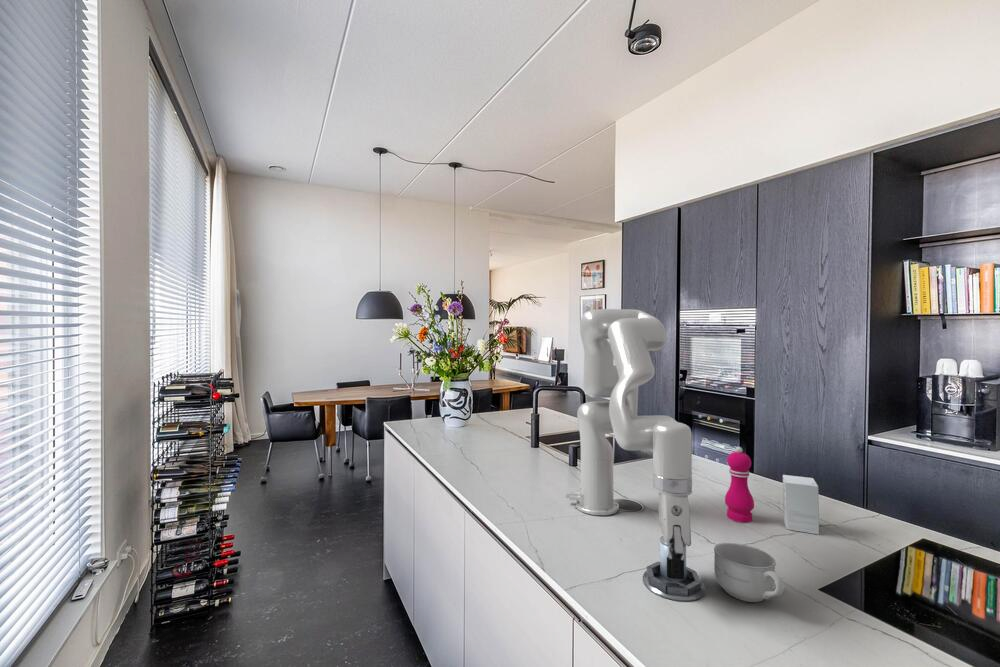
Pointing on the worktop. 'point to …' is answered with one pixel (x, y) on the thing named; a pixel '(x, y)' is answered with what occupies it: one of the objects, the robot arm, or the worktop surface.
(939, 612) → the worktop surface
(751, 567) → the teacup
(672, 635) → the worktop surface
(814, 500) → the supplement box
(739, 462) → the pepper mill
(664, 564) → the grey domed cylinder
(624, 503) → the worktop surface
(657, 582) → the faceted metallic bowl
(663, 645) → the worktop surface
